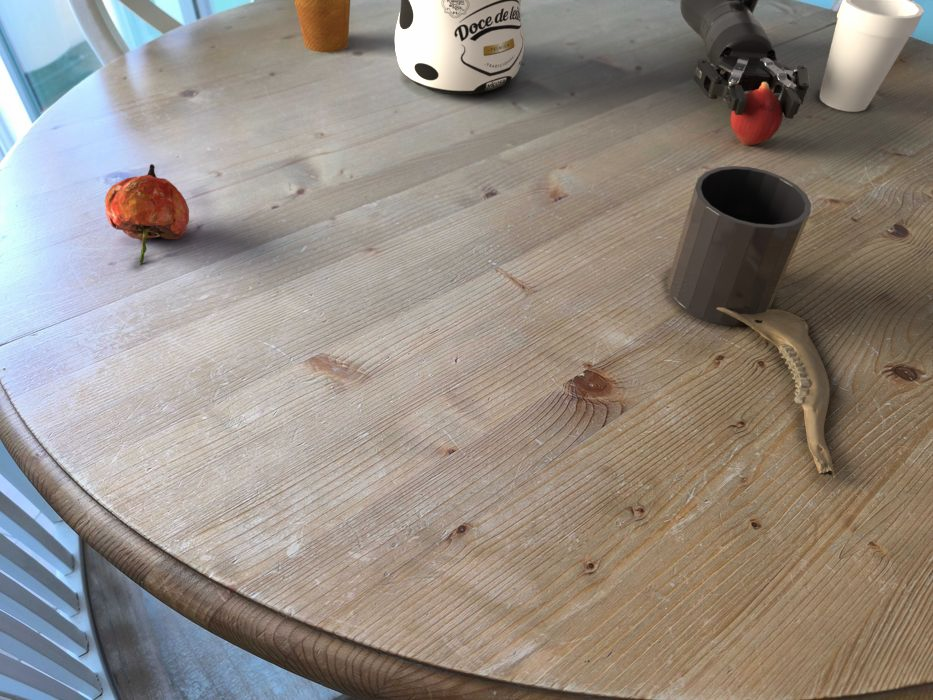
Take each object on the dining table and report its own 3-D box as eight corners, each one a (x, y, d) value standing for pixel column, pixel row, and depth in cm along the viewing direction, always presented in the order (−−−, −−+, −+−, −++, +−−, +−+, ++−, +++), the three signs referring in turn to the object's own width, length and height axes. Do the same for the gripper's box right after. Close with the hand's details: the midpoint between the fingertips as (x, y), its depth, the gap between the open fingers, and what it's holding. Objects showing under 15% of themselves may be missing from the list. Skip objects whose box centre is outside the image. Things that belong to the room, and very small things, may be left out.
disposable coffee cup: (283, 39, 111) (271, -49, 102) (341, 27, 115) (334, -58, 106) (310, 63, 105) (300, -28, 97) (370, 50, 109) (366, -39, 101)
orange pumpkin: (193, 278, 74) (213, 182, 75) (147, 256, 67) (170, 151, 68) (127, 271, 75) (148, 177, 77) (76, 249, 68) (100, 146, 70)
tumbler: (757, 266, 75) (794, 169, 67) (779, 331, 68) (824, 231, 60) (661, 260, 75) (688, 162, 68) (674, 324, 68) (705, 223, 61)
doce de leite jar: (505, 114, 96) (517, -36, 84) (378, 94, 99) (371, -55, 87) (532, 61, 108) (546, -77, 96) (418, 44, 111) (417, -92, 99)
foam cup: (794, 98, 103) (830, 0, 94) (828, 81, 108) (865, -15, 99) (858, 125, 98) (903, 24, 89) (891, 105, 103) (936, 7, 94)
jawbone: (773, 302, 72) (782, 285, 71) (915, 471, 58) (930, 454, 57) (692, 308, 69) (700, 290, 68) (820, 486, 56) (833, 469, 54)
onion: (777, 143, 94) (799, 81, 88) (762, 162, 90) (784, 99, 85) (732, 129, 96) (751, 68, 90) (716, 147, 92) (735, 84, 87)
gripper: (691, 17, 97) (714, 74, 85) (802, 25, 96) (842, 82, 84) (677, 74, 102) (697, 134, 90) (783, 81, 102) (817, 142, 89)
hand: (767, 109), depth 87 cm, fingers closed on onion, 5 cm apart
